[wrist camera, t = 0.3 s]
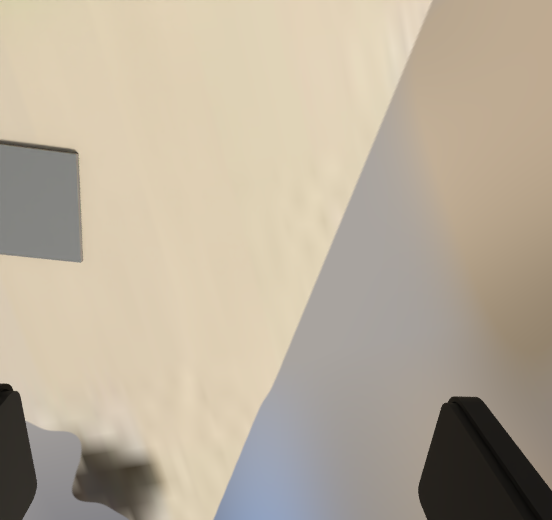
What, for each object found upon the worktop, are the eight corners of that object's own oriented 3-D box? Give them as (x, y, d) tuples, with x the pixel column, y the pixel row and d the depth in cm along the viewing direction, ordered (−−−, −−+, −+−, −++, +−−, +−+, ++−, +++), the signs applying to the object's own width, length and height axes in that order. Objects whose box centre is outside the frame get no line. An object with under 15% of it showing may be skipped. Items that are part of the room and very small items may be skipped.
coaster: (-46, 137, 40) (-50, 138, 39) (78, 153, 41) (76, 154, 41) (-29, 249, 44) (-33, 250, 44) (82, 260, 45) (80, 262, 45)
